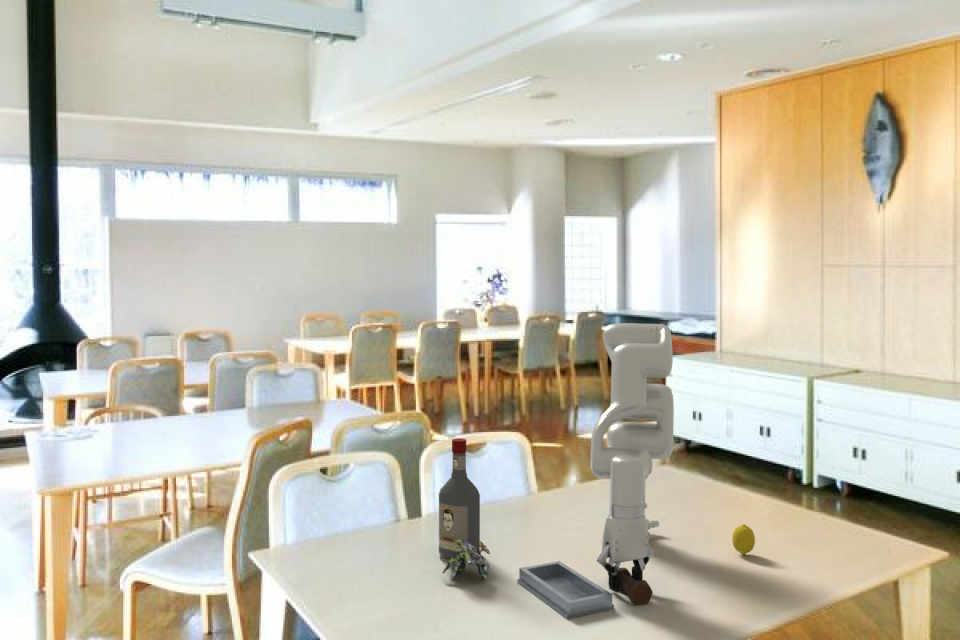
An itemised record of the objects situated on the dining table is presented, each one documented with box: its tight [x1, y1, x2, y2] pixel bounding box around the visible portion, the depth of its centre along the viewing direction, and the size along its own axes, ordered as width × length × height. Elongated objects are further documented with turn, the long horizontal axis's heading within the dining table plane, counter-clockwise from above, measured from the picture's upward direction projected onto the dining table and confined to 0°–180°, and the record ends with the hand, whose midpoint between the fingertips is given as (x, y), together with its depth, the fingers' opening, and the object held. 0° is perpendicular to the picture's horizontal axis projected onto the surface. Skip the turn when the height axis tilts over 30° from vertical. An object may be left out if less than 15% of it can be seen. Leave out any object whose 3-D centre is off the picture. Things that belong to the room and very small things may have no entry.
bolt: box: [607, 565, 653, 606], centre depth 188 cm, size 6×5×15 cm
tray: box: [516, 560, 615, 620], centre depth 186 cm, size 12×22×3 cm, turn 26°
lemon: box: [731, 523, 756, 556], centre depth 211 cm, size 6×6×8 cm
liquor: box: [438, 437, 481, 561], centre depth 210 cm, size 9×9×30 cm
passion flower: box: [439, 540, 491, 582], centre depth 195 cm, size 11×11×12 cm
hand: (625, 587), depth 188 cm, fingers closed on bolt, 5 cm apart
